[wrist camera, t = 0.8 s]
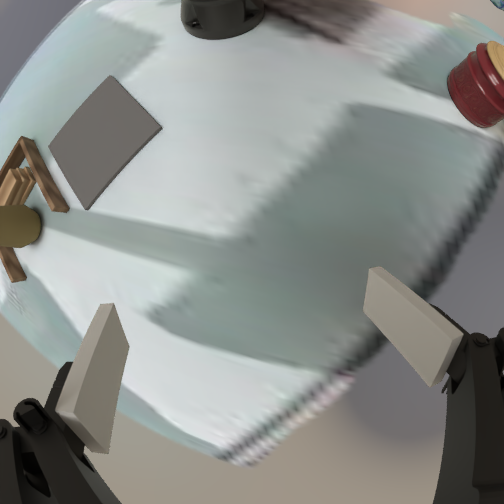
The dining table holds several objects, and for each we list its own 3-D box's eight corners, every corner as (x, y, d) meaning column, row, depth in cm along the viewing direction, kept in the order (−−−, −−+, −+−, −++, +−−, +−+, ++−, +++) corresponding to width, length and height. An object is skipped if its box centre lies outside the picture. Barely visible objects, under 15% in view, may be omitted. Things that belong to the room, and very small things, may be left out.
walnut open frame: (69, 208, 40) (54, 206, 36) (25, 280, 42) (11, 282, 38) (33, 140, 40) (21, 135, 36) (-6, 208, 42) (-18, 207, 38)
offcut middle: (30, 180, 39) (24, 179, 37) (10, 225, 40) (3, 224, 38) (23, 169, 39) (16, 167, 37) (3, 212, 40) (-3, 211, 38)
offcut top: (23, 182, 37) (16, 180, 35) (4, 222, 38) (-3, 222, 36) (16, 169, 37) (9, 168, 35) (-2, 208, 38) (-9, 208, 36)
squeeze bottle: (40, 198, 40) (-31, 189, 22) (48, 237, 41) (-27, 239, 23) (20, 216, 41) (-46, 213, 23) (27, 253, 41) (-42, 259, 23)
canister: (498, 136, 33) (555, 111, 15) (453, 119, 34) (513, 79, 16) (484, 82, 32) (529, 48, 14) (438, 62, 33) (482, 15, 15)
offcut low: (38, 182, 41) (32, 180, 39) (15, 226, 42) (8, 226, 40) (31, 168, 41) (25, 166, 39) (8, 211, 42) (2, 211, 40)
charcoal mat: (162, 128, 38) (160, 126, 37) (88, 210, 39) (85, 209, 39) (112, 76, 38) (110, 74, 37) (50, 147, 40) (48, 146, 39)
